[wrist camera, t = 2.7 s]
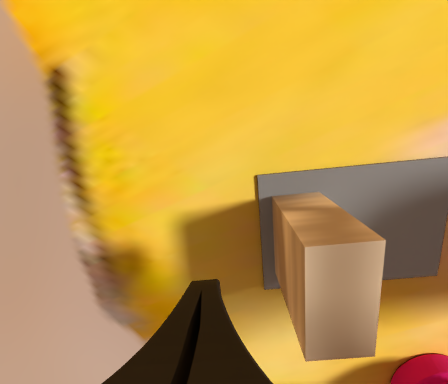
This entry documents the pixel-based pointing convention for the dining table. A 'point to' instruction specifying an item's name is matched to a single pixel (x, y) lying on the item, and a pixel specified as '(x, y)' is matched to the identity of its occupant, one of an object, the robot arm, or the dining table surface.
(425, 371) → the pepper mill
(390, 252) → the grey panel
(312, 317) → the birch block
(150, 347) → the robot arm
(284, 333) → the dining table surface
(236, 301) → the dining table surface
